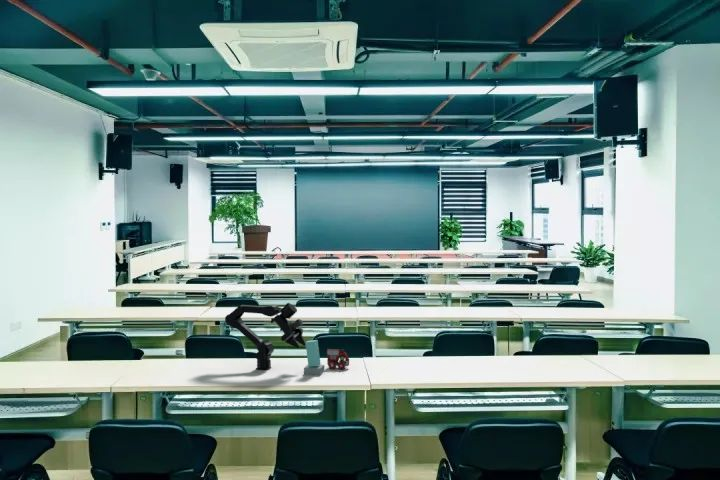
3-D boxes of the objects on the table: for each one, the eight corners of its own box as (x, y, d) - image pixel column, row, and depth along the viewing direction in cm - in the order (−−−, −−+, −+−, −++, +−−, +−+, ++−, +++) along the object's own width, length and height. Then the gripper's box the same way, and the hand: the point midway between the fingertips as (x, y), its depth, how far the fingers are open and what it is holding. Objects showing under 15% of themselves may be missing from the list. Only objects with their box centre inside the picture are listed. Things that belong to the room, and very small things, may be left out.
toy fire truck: (348, 370, 339) (348, 350, 339) (325, 369, 341) (325, 350, 340) (349, 367, 346) (350, 348, 346) (327, 366, 347) (327, 347, 347)
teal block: (308, 366, 329) (305, 342, 330) (311, 365, 334) (308, 340, 335) (317, 366, 328) (314, 341, 328) (320, 364, 333) (317, 340, 333)
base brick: (303, 375, 327) (303, 367, 327) (308, 371, 336) (308, 364, 336) (320, 376, 326) (320, 368, 326) (324, 372, 335) (324, 364, 335)
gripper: (287, 316, 326) (306, 339, 323) (300, 312, 344) (318, 334, 341) (272, 329, 328) (291, 352, 325) (286, 326, 346) (304, 347, 343)
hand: (302, 346), depth 334 cm, fingers open, 9 cm apart
